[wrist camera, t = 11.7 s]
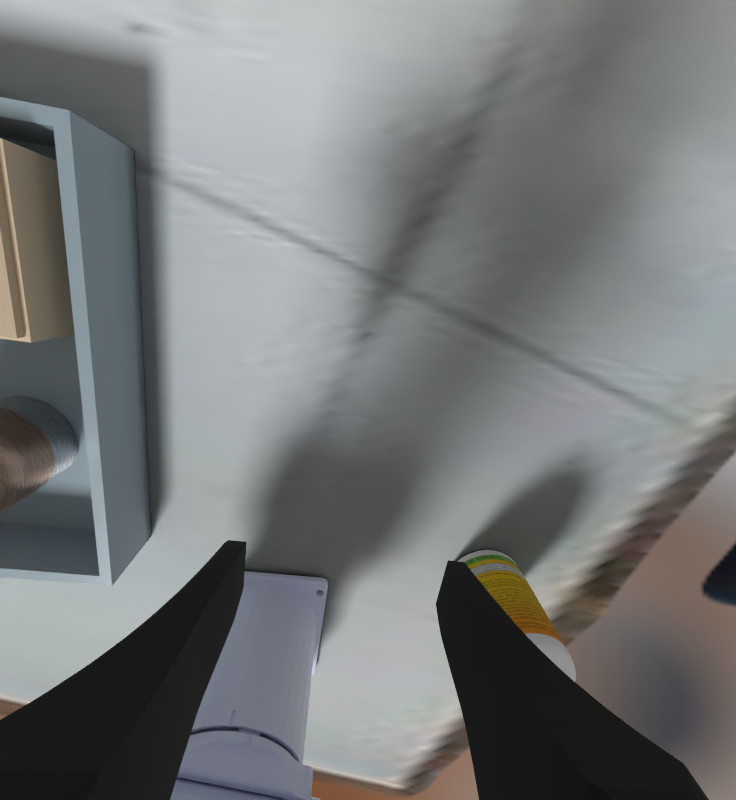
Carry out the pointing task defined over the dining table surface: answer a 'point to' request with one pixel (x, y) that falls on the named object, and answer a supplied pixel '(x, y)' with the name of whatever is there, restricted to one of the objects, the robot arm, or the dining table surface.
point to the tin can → (31, 447)
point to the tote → (84, 365)
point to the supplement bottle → (519, 603)
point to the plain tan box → (32, 249)
